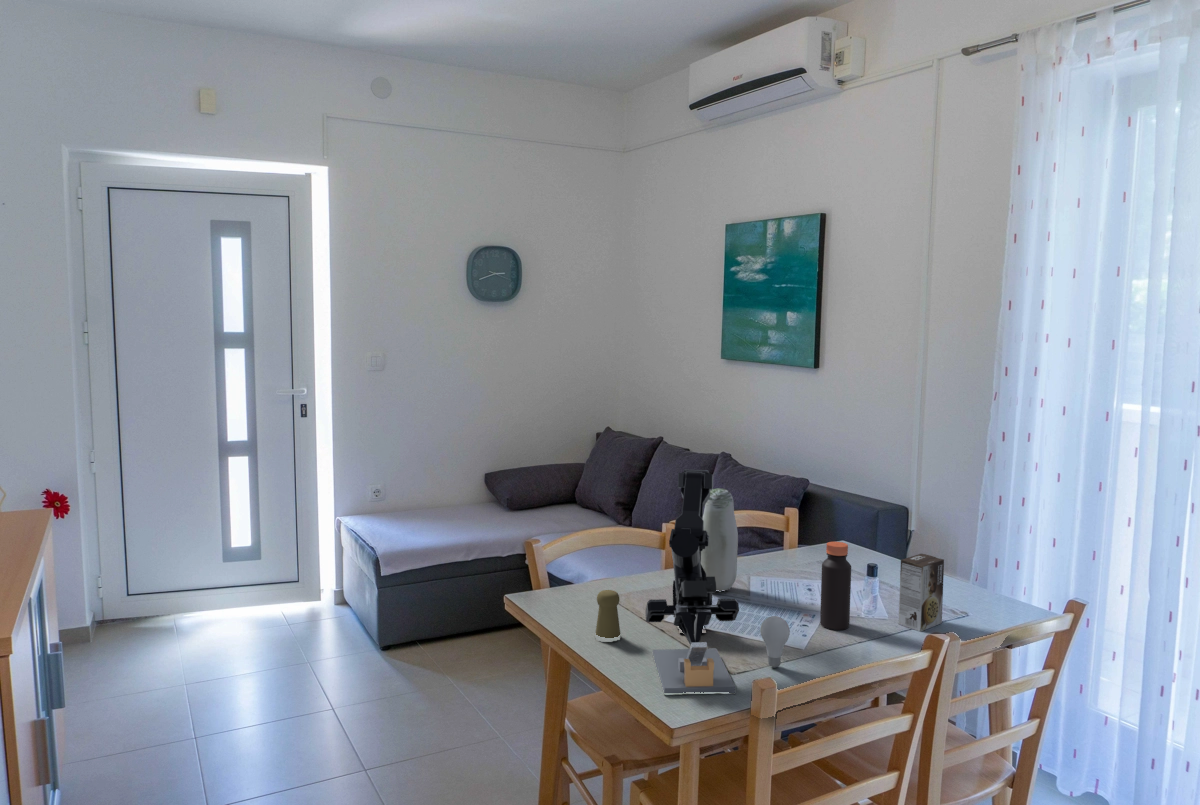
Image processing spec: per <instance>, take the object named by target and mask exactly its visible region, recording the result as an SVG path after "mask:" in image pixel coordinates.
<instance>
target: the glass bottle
mask: <svg viewBox="0 0 1200 805" xmlns="http://www.w3.org/2000/svg"><path fill="white" fill-rule="evenodd" d="M734 506H735V505H734V498H733V495H732V493H731V492H730V491H729V490H727V489H725V488H719V487H718V488H713V489H710V498H709V500H708V501H707V502H706V504H705V505H704V508H703V521H704V530H706V531H707V534H708V535H709V544H708V546H706V548H705V549H703V550H702V551H701V565H702V567H703V569H704V571H705V572H706V577H715V580H716V590H719V591H722V590H727V591H728V589H729V590H730V589H731V588H732V586H733V585H734V583H735V582H736V579H737V572H738V548H739V545H738V544H739V533H738V526H737V520H736V516H735V508H734Z"/></svg>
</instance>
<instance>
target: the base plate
mask: <svg viewBox="0 0 1200 805" xmlns="http://www.w3.org/2000/svg"><path fill="white" fill-rule="evenodd" d="M689 649H690V648H672V649H671V648H670V649H669V648H665V649H663V648H662V649H659V648H658V649H652V657H653V656H654V659H653V661H654V660H655V663H656V666H655V668H656V667H657V669H656V671H657V670H658V673H659V676H658V678H659V677H660V680H661V683H662V686H661V688H662V687H663V690H664V693H683V692H684V693H686V692H694V693H695V692H700V693H701V692H703V693H704V692H729V693H735V694H736V685H735V683H734V681H733V678H732V677H731V675H730V673H729V672H728V669H727V667H726V665H725V663H724V661H723V659H722V657H721V655H720V653H719V651H718V649H717V648H715V647H714V648H708V647H707V649H706V652H705V655H704V658H703V660H702V663H701V666H691V662H690V660H689V659H686V658H687V655H688V652H689ZM655 663H654V664H655ZM658 673H657V674H658ZM660 680H659V681H660ZM661 683H660V684H661ZM663 690H662V691H663ZM664 693H663V694H664Z"/></svg>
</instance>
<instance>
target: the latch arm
mask: <svg viewBox="0 0 1200 805" xmlns="http://www.w3.org/2000/svg"><path fill="white" fill-rule="evenodd" d="M688 649H689V652H688V655H687V658H686V659H689V660H690V662H691V666H701V663H702V660H703V658H704V655H705V652H706V649H708V643H707V641H704V642H703V641H702V642H701V641H700V642H694V643H691V646H690V645H689V648H688Z"/></svg>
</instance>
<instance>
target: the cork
mask: <svg viewBox="0 0 1200 805" xmlns="http://www.w3.org/2000/svg"><path fill="white" fill-rule="evenodd" d="M596 596H597V597H596V603H597V604H598V612H597V621H596V626H595V627H596V628H595V633H596V635H598V636H600V637H605V638H614V637H618V636H619V635H620V634H621V629H620V628H621V627H620V620H619V619H620V618H619V611H618V610H619V609H618V605H619V603H620V595H619V593H618V592H617V591H615V590H612V589H603V590H601V591H599V592H598V594H597V595H596Z"/></svg>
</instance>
